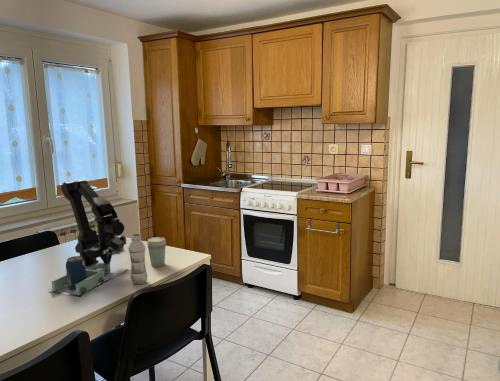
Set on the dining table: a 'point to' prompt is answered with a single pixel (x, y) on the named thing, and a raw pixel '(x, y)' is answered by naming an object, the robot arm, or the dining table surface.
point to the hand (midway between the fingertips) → (107, 266)
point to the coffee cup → (157, 251)
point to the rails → (90, 289)
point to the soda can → (75, 271)
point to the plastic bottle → (137, 260)
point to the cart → (91, 281)
